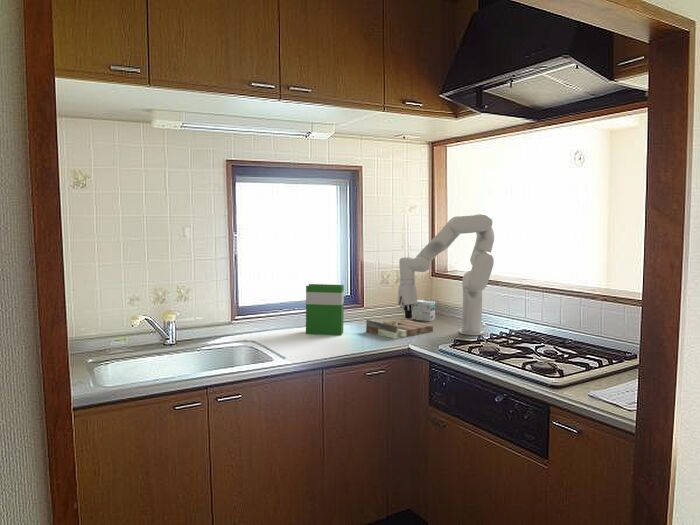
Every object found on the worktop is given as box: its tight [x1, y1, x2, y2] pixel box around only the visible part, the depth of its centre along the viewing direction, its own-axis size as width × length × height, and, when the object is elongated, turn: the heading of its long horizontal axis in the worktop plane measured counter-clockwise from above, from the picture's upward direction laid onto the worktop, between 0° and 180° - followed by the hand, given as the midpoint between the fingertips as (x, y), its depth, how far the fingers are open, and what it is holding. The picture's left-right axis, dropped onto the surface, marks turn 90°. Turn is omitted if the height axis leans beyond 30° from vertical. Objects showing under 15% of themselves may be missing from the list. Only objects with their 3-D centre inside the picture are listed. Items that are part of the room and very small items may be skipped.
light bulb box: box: [413, 299, 436, 322], centre depth 296 cm, size 11×7×11 cm, turn 58°
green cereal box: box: [305, 283, 345, 336], centre depth 258 cm, size 18×7×24 cm, turn 83°
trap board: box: [365, 318, 434, 340], centre depth 264 cm, size 28×20×6 cm
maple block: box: [382, 319, 398, 329], centre depth 256 cm, size 5×5×4 cm
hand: (408, 318), depth 263 cm, fingers closed
